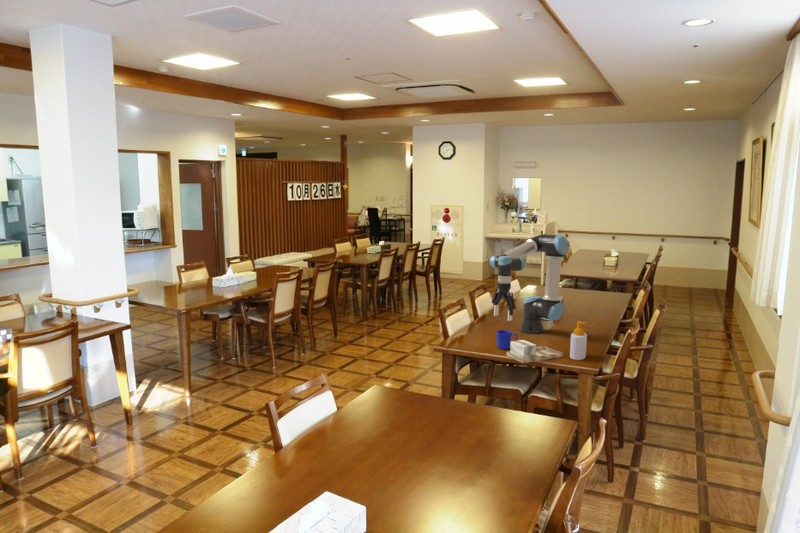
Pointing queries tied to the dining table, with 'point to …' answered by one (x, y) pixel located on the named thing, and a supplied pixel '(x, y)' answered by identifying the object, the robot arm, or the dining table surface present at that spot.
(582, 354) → the soap bottle
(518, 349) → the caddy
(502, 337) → the mug
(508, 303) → the robot arm
